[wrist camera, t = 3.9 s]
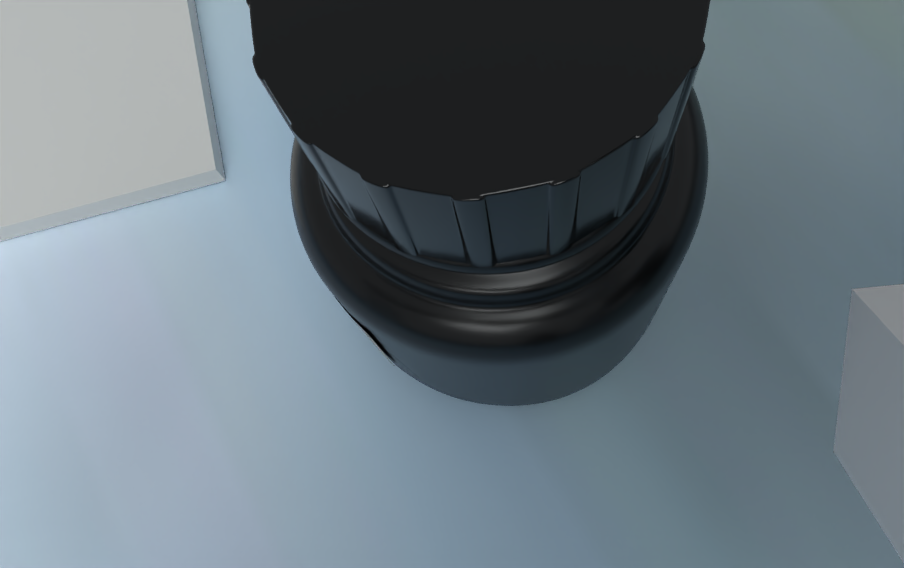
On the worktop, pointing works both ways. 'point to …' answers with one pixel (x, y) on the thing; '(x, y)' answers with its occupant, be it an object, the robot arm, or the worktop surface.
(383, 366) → the worktop surface
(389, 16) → the ink bottle
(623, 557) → the worktop surface
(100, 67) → the ceramic tile
